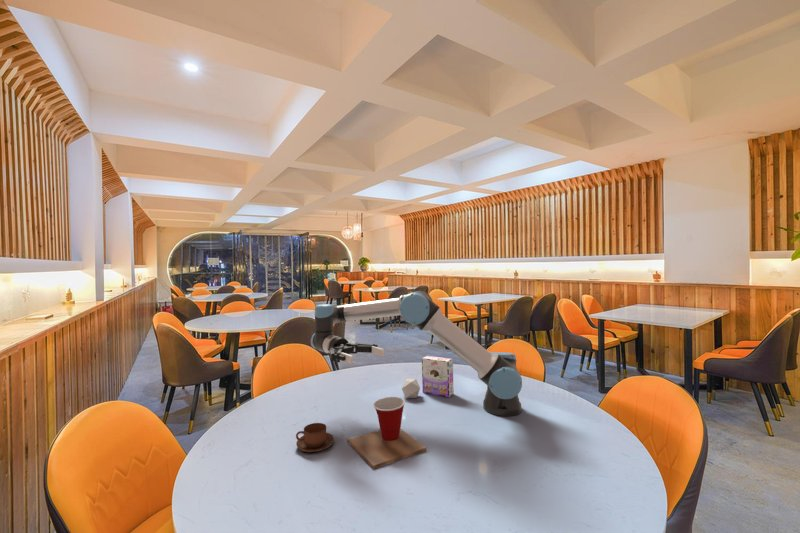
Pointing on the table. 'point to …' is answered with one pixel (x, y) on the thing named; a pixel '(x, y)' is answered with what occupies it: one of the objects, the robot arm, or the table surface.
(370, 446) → the walnut board
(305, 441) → the cup and saucer
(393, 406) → the plastic cup
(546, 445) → the table surface
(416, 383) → the die
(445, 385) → the candy box
